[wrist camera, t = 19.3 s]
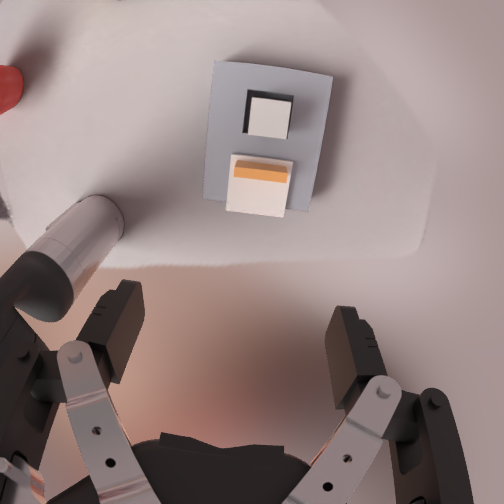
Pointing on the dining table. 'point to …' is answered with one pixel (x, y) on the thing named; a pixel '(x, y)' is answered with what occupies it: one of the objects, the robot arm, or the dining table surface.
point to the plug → (269, 117)
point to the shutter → (258, 185)
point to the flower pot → (10, 87)
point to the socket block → (239, 142)
